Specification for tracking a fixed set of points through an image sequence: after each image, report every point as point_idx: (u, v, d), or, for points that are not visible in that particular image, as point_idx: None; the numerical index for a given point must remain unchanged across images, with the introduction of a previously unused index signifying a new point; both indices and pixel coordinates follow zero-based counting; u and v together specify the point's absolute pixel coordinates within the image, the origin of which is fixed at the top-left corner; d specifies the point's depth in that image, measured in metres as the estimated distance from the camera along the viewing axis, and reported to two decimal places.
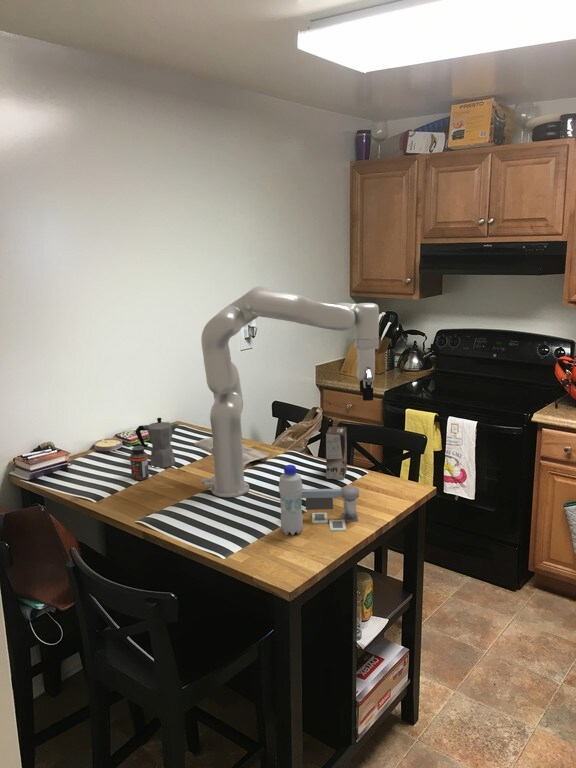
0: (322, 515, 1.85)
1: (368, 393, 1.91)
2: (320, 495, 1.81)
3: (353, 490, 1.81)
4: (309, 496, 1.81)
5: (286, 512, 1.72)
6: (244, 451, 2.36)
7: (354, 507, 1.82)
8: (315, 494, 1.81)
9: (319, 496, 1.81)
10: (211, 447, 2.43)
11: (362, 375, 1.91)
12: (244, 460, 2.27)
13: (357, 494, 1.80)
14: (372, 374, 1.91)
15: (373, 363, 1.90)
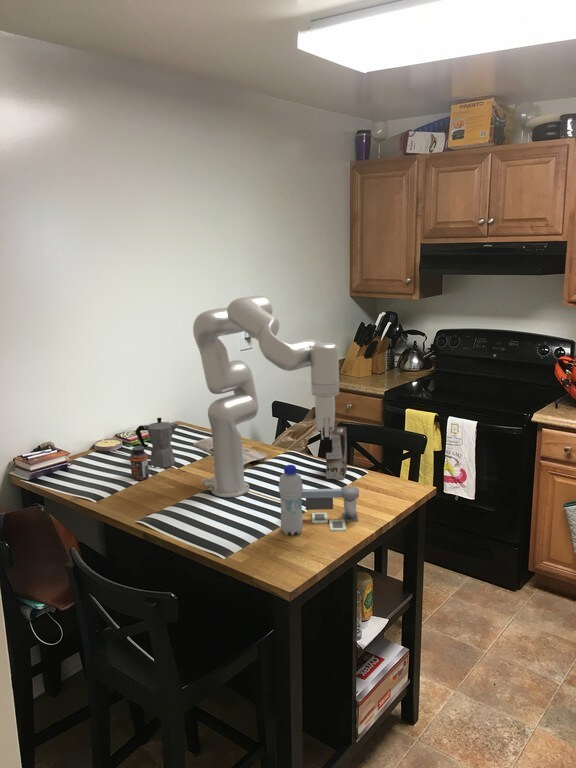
0: (322, 515, 1.85)
1: (326, 445, 1.72)
2: (320, 495, 1.81)
3: (353, 490, 1.81)
4: (309, 496, 1.81)
5: (286, 512, 1.72)
6: None
7: (354, 507, 1.82)
8: (315, 494, 1.81)
9: (319, 496, 1.81)
10: (210, 447, 2.43)
11: (320, 425, 1.67)
12: None
13: (357, 494, 1.80)
14: (331, 424, 1.66)
15: (332, 412, 1.66)
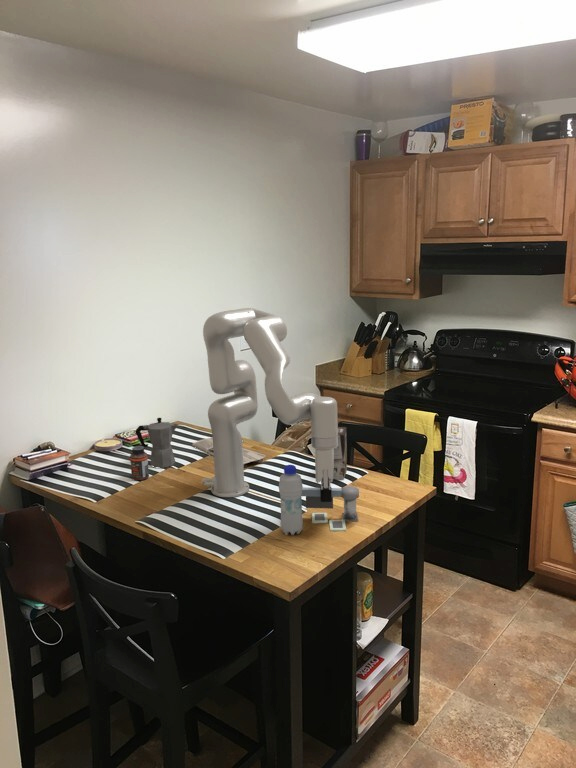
0: (322, 515, 1.85)
1: (326, 494, 1.78)
2: None
3: (353, 491, 1.81)
4: (309, 494, 1.83)
5: (286, 512, 1.72)
6: None
7: (354, 507, 1.82)
8: (315, 493, 1.82)
9: (319, 495, 1.82)
10: (208, 448, 2.42)
11: (319, 477, 1.73)
12: None
13: (357, 494, 1.80)
14: (330, 476, 1.73)
15: (331, 464, 1.73)
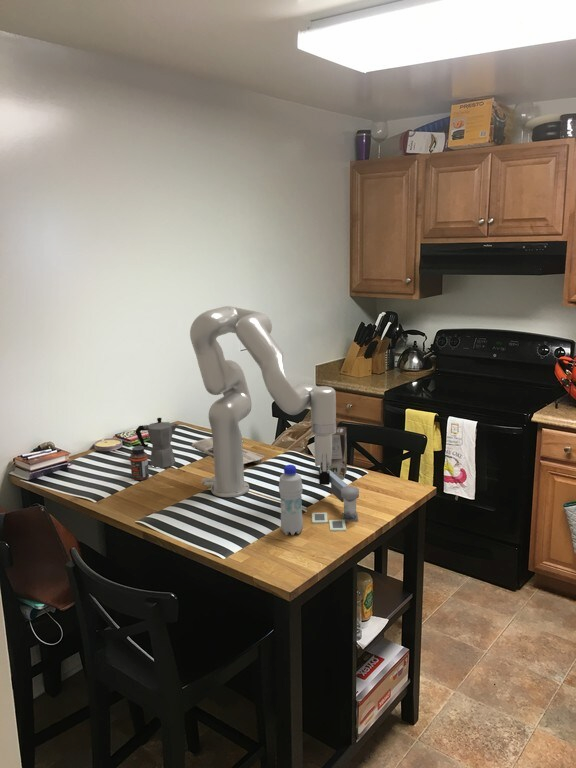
0: (322, 515, 1.85)
1: (324, 478, 1.91)
2: (334, 483, 1.89)
3: (348, 491, 1.80)
4: (330, 480, 1.92)
5: (286, 512, 1.72)
6: None
7: (354, 507, 1.82)
8: (332, 480, 1.91)
9: (334, 484, 1.90)
10: (207, 448, 2.42)
11: (318, 461, 1.85)
12: None
13: (348, 496, 1.79)
14: (328, 460, 1.85)
15: (329, 449, 1.85)
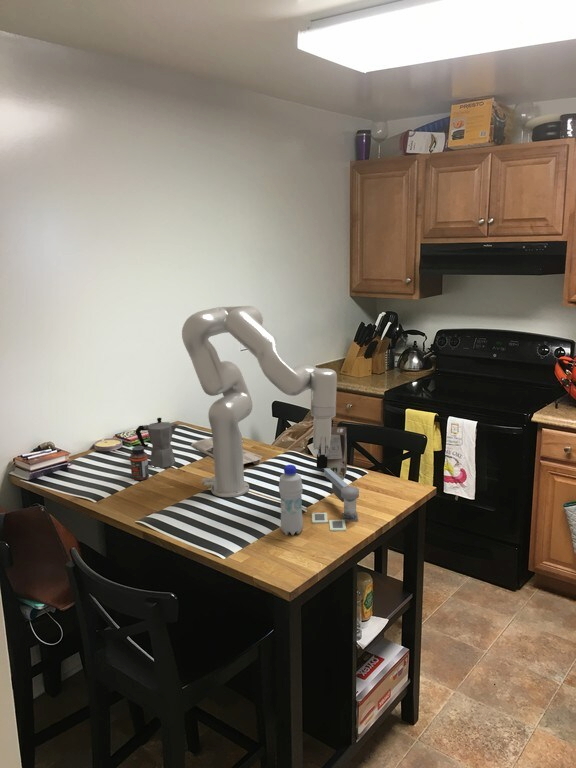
0: (322, 515, 1.85)
1: (322, 461, 1.88)
2: (335, 483, 1.90)
3: (348, 491, 1.80)
4: (331, 480, 1.93)
5: (286, 512, 1.72)
6: None
7: (354, 507, 1.82)
8: (333, 480, 1.91)
9: (335, 483, 1.90)
10: (206, 448, 2.42)
11: (317, 444, 1.83)
12: None
13: (348, 496, 1.79)
14: (327, 444, 1.83)
15: (329, 432, 1.82)
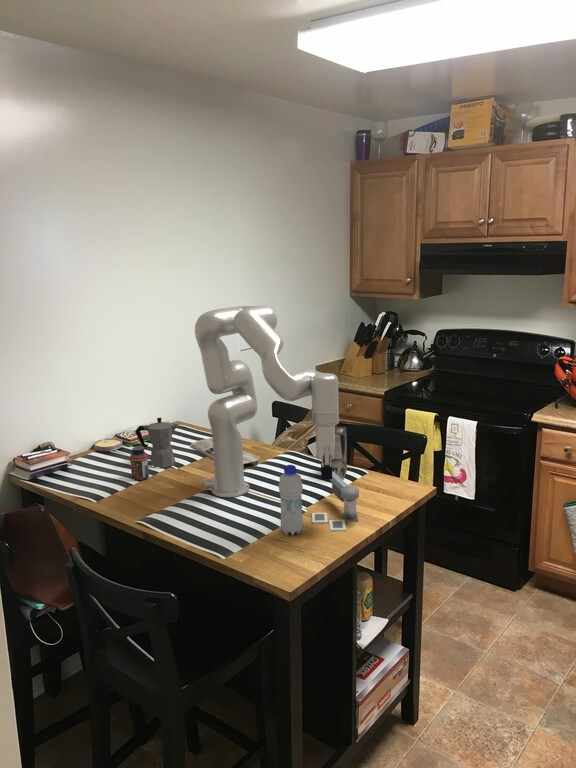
0: (322, 515, 1.85)
1: (327, 472, 1.77)
2: (335, 483, 1.90)
3: (348, 491, 1.80)
4: (331, 480, 1.93)
5: (286, 512, 1.72)
6: None
7: (354, 507, 1.82)
8: (333, 480, 1.91)
9: (335, 483, 1.90)
10: (205, 449, 2.41)
11: (320, 454, 1.72)
12: None
13: (348, 496, 1.79)
14: (331, 453, 1.72)
15: (332, 441, 1.71)
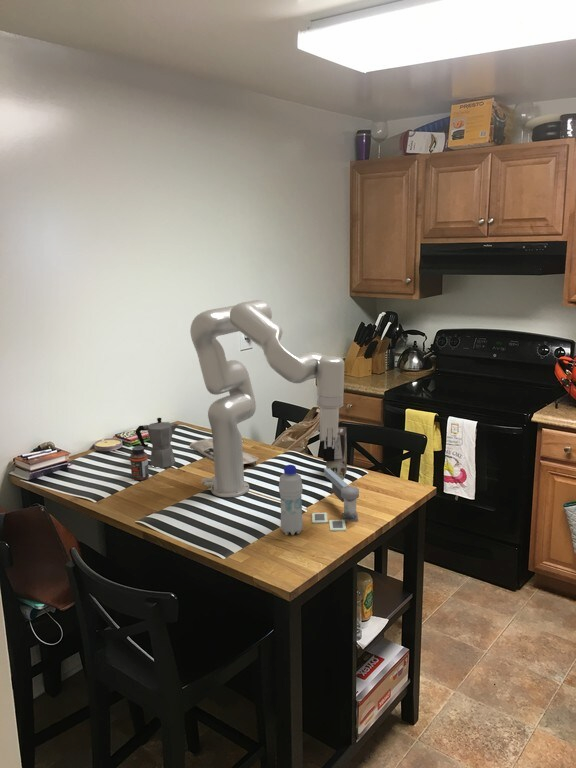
0: (322, 515, 1.85)
1: (329, 454, 1.79)
2: (335, 483, 1.90)
3: (348, 491, 1.80)
4: (331, 480, 1.93)
5: (286, 512, 1.72)
6: None
7: (354, 507, 1.82)
8: (333, 480, 1.91)
9: (335, 483, 1.90)
10: (204, 449, 2.41)
11: (323, 436, 1.74)
12: None
13: (348, 496, 1.79)
14: (334, 435, 1.74)
15: (336, 423, 1.73)
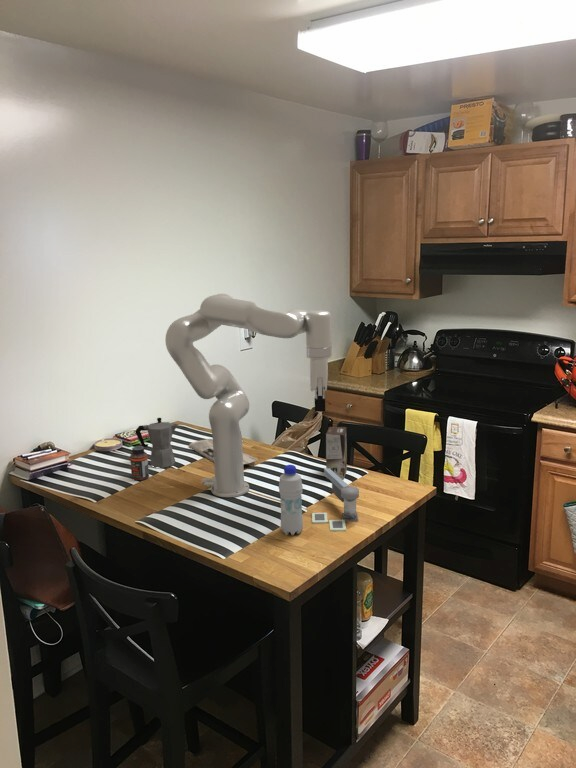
0: (322, 515, 1.85)
1: (320, 404, 1.89)
2: (335, 483, 1.90)
3: (348, 491, 1.80)
4: (331, 480, 1.93)
5: (286, 512, 1.72)
6: None
7: (354, 507, 1.82)
8: (333, 480, 1.91)
9: (335, 483, 1.90)
10: (203, 449, 2.41)
11: (314, 385, 1.83)
12: None
13: (348, 496, 1.79)
14: (324, 384, 1.83)
15: (325, 373, 1.83)
